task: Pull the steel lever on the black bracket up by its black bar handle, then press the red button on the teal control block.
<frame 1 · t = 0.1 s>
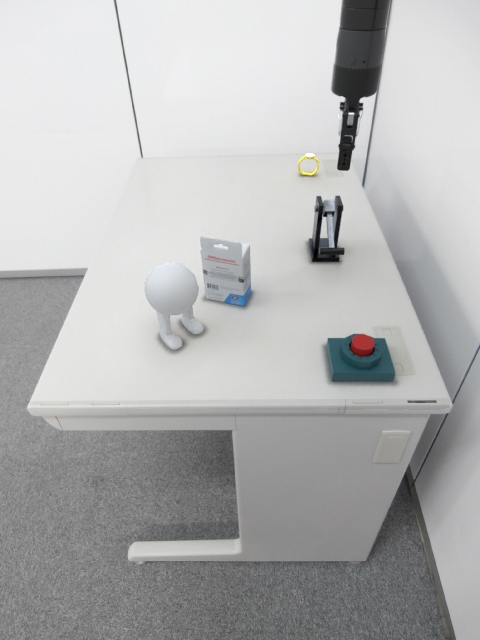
hand: (343, 160, 81), 24 cm above the table, tool pointing down, fingers open, 8 cm apart
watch: (307, 175, 130), on the table
bracket: (323, 251, 101), on the table
toy character: (179, 333, 83), on the table
ink box: (228, 296, 90), on the table
stop button: (362, 345, 73), point 4 cm above the table, slide at 0.1 cm
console: (358, 363, 76), on the table
lever: (330, 228, 92), point 9 cm above the table, hinge at -30.0°
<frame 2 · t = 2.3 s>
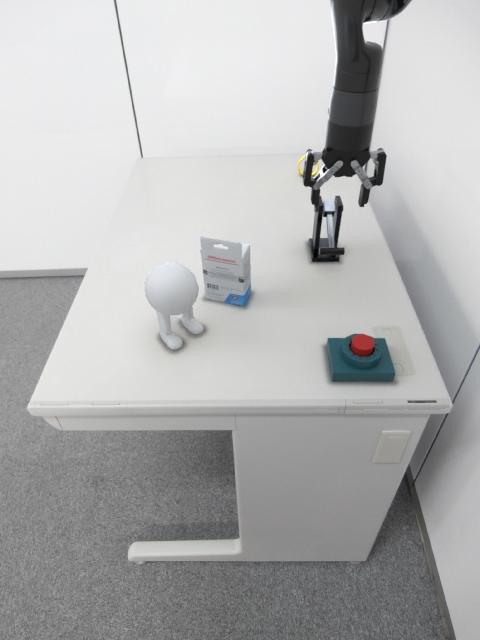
hand: (338, 205, 84), 16 cm above the table, tool pointing down, fingers open, 8 cm apart
nothing on the table moved.
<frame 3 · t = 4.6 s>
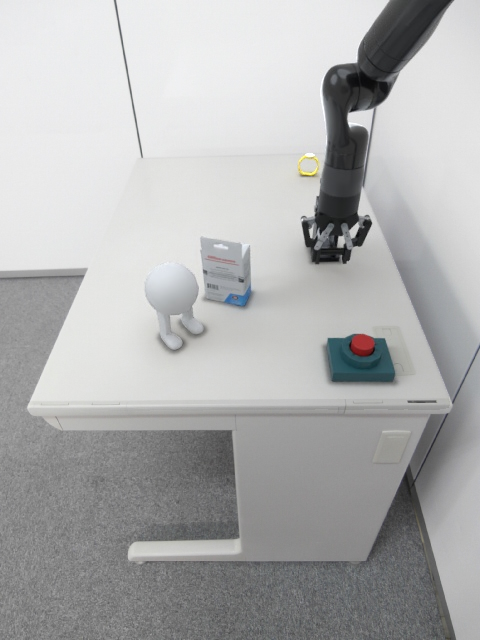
hand: (330, 261, 92), 3 cm above the table, tool pointing down, fingers closed on lever, 5 cm apart
lever: (330, 228, 92), point 9 cm above the table, hinge at -30.1°, touching gripper
everything else where it was.
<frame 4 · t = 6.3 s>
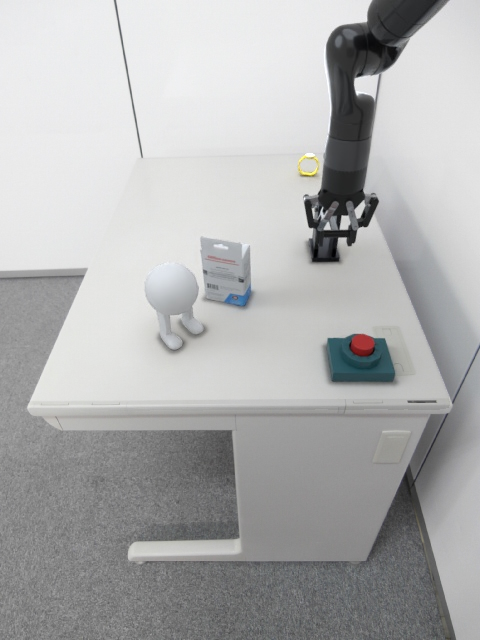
hand: (334, 244, 87), 9 cm above the table, tool pointing down, fingers closed on lever, 5 cm apart
lever: (331, 219, 90), point 11 cm above the table, hinge at 0.0°, touching gripper
everything else where it was.
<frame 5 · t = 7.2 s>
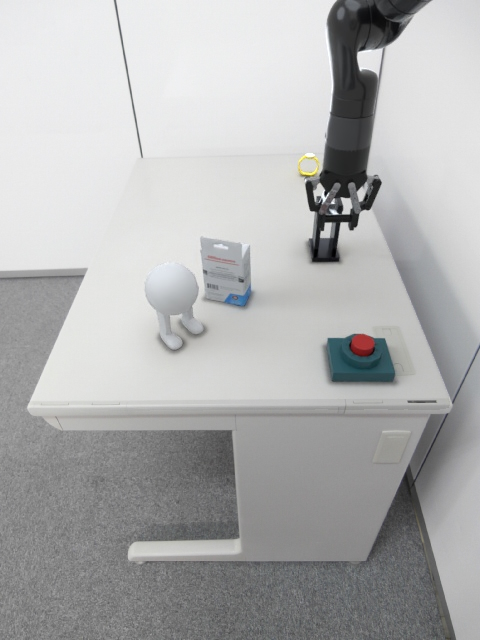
hand: (336, 228, 85), 12 cm above the table, tool pointing down, fingers closed on lever, 5 cm apart
lever: (332, 212, 89), point 12 cm above the table, hinge at 17.9°, touching gripper
everything else where it was.
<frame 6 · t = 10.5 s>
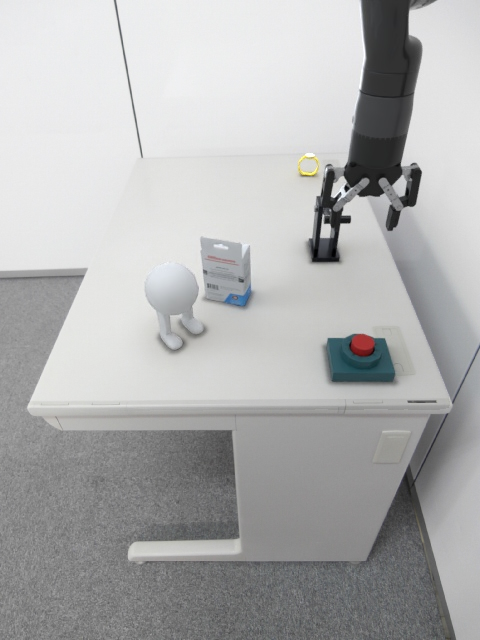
hand: (362, 228, 71), 19 cm above the table, tool pointing down, fingers open, 8 cm apart
lever: (332, 213, 89), point 12 cm above the table, hinge at 16.6°
everything else where it was.
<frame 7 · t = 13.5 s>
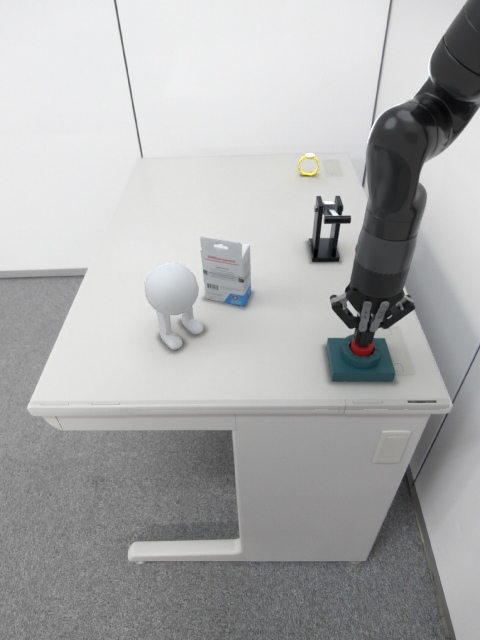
hand: (362, 343, 72), 5 cm above the table, tool pointing down, fingers closed
stop button: (362, 346, 73), point 4 cm above the table, slide at -0.2 cm, touching gripper
everything else where it was.
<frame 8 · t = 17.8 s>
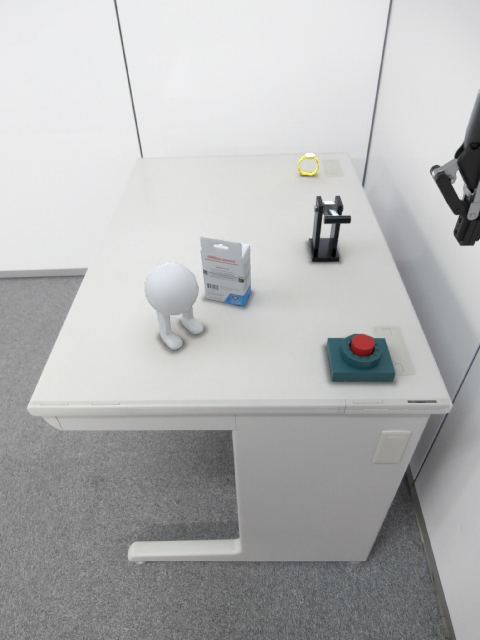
hand: (464, 242, 54), 27 cm above the table, tool pointing down, fingers closed
stop button: (362, 345, 73), point 4 cm above the table, slide at 0.1 cm
everything else where it was.
at the end: lever at +17° (first picture: -30°); stop button pushed in 1.1 cm at the most during the clip, back to where it started at the end; stop button slide at 0.1 cm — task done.
